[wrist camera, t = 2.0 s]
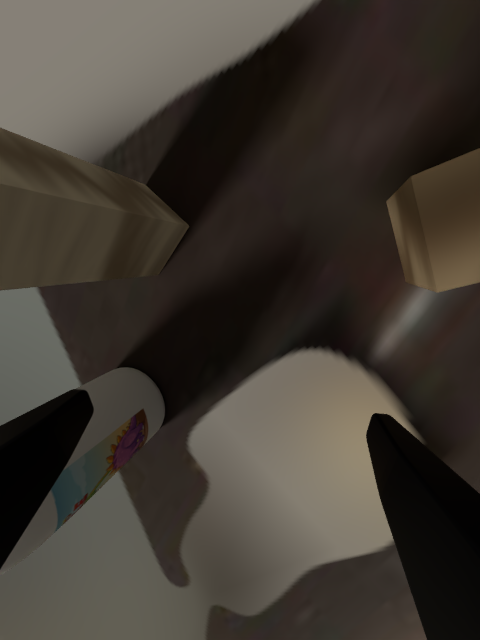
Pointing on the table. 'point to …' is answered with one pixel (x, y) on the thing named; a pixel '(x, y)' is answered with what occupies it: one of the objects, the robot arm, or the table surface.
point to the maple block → (76, 220)
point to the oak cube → (440, 224)
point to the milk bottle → (97, 451)
